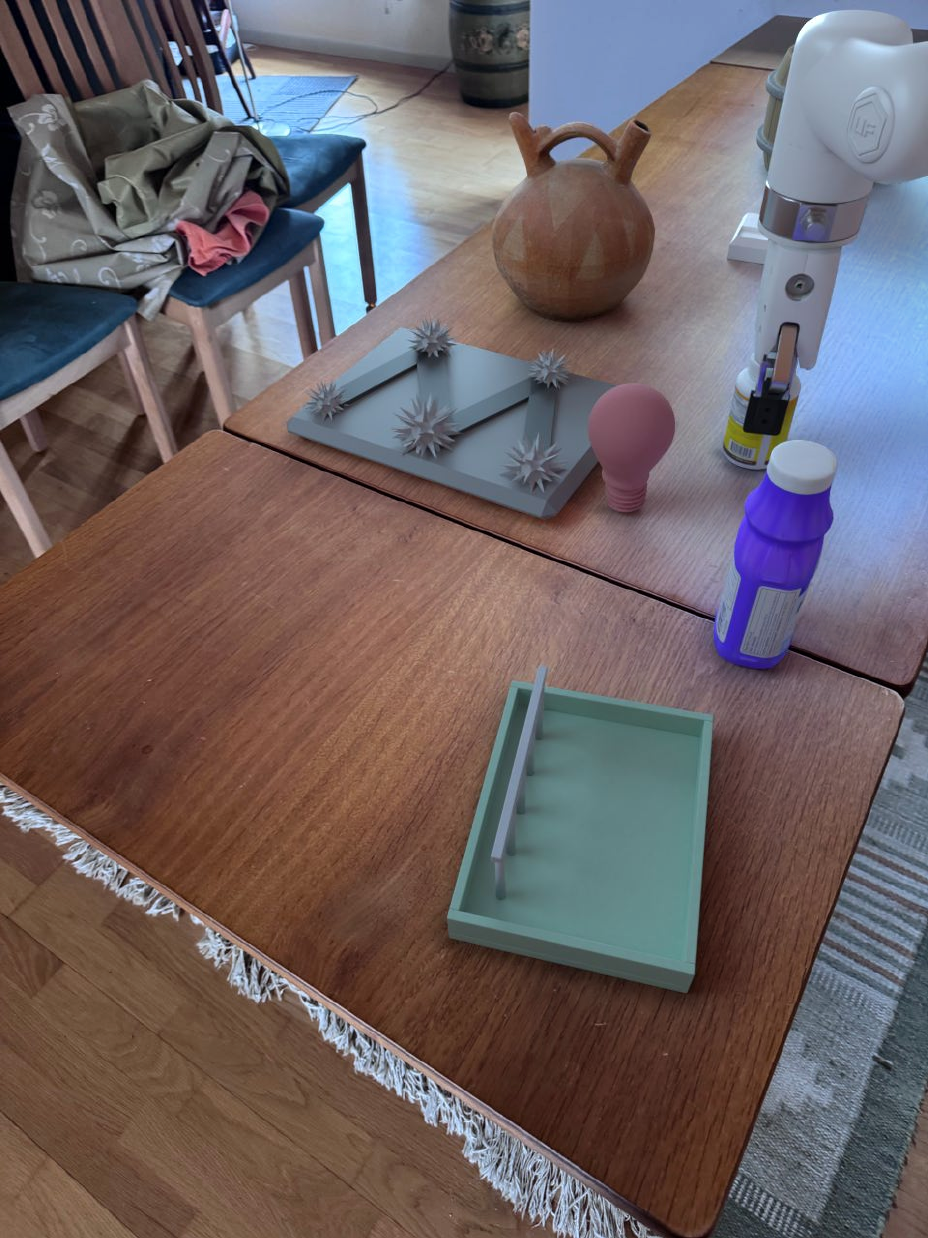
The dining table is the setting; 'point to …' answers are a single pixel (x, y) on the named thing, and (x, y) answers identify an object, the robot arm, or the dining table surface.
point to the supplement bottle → (737, 443)
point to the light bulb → (630, 440)
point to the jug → (574, 223)
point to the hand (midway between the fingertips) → (762, 410)
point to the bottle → (776, 555)
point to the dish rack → (590, 836)
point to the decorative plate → (462, 418)
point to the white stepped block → (748, 242)
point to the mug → (773, 107)
